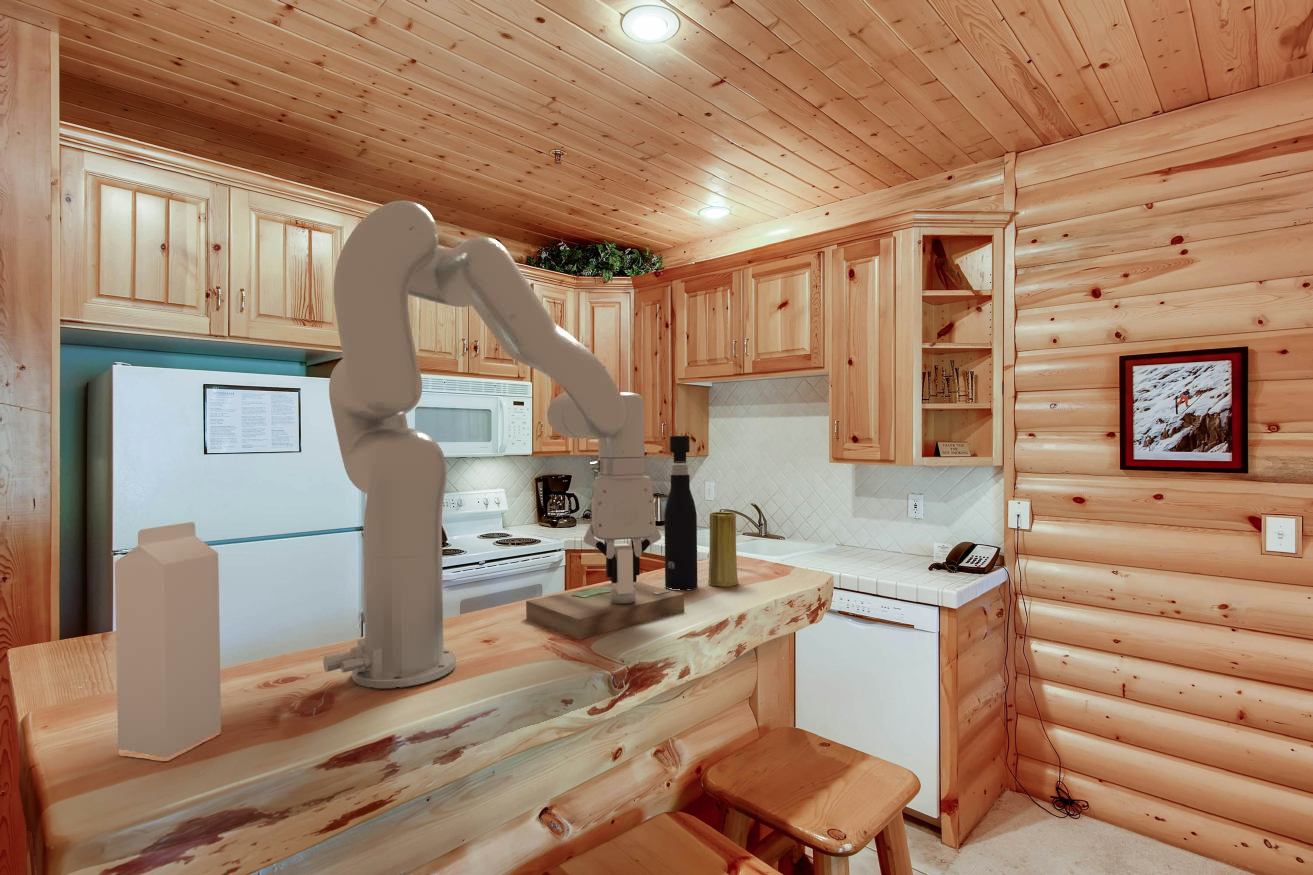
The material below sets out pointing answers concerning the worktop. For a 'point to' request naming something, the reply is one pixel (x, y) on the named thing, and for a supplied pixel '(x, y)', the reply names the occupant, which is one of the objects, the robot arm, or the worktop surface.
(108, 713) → the worktop surface
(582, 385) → the robot arm
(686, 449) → the black bottle
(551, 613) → the dial board
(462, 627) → the worktop surface
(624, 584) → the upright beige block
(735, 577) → the vase
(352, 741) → the worktop surface
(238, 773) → the worktop surface
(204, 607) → the milk
